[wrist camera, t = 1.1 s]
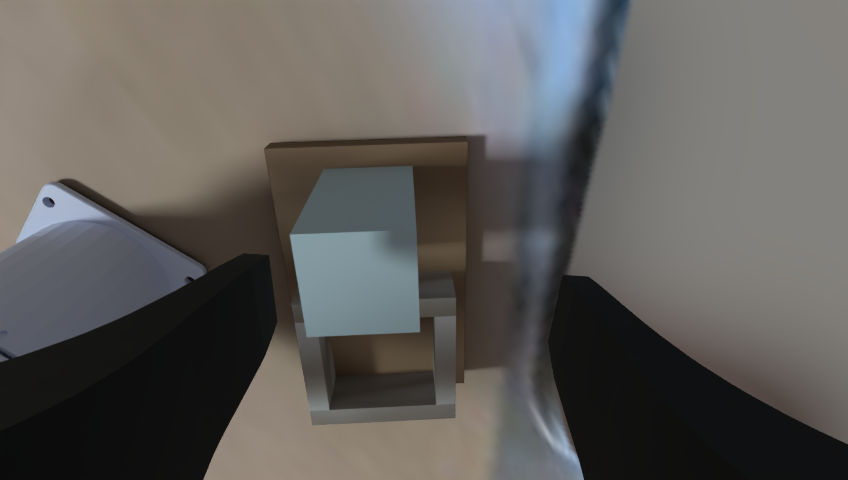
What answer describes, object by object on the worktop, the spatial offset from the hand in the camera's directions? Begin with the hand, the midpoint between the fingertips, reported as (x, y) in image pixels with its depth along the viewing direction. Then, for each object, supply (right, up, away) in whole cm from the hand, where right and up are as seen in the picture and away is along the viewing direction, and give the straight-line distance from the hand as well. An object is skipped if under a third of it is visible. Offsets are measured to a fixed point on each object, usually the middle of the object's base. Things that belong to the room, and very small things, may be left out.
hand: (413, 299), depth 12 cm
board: (-2, 0, +13) cm, 13 cm away
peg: (-2, +3, +10) cm, 11 cm away
